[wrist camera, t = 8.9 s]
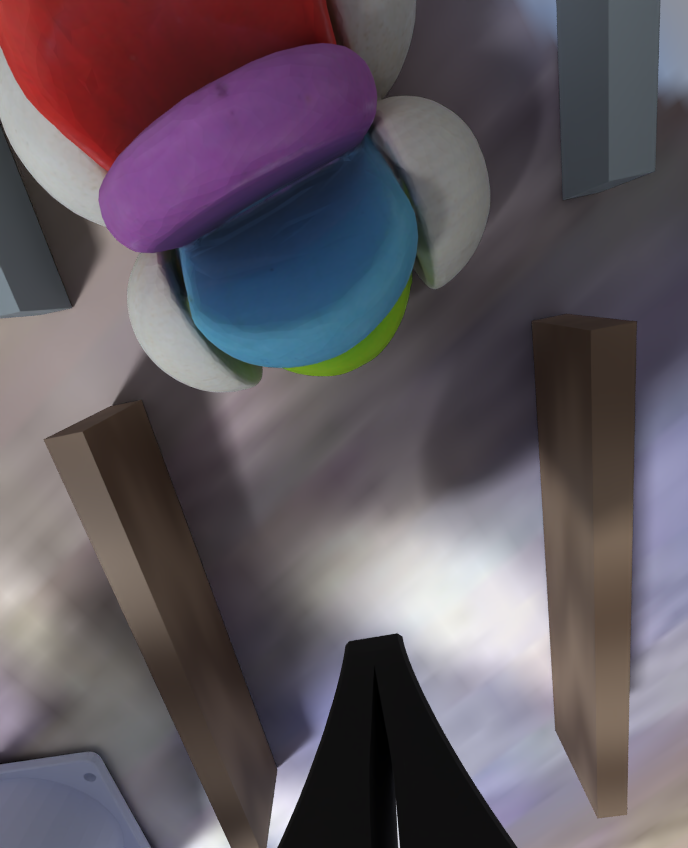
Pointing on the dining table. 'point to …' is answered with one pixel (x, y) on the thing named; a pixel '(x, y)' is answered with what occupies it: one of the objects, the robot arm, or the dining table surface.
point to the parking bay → (579, 121)
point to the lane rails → (564, 552)
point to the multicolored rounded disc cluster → (247, 170)
